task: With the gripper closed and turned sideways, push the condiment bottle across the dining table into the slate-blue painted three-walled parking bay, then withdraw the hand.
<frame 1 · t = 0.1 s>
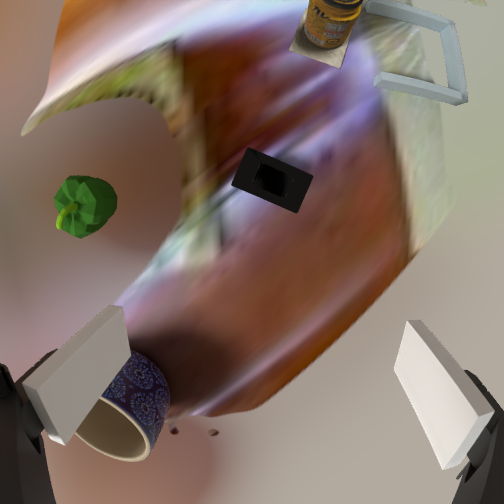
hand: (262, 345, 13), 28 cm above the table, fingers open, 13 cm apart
bell pepper: (102, 200, 40), on the table
planter: (136, 374, 48), on the table
black angular block: (272, 180, 39), on the table
condiment: (322, 37, 32), on the table
bay: (407, 51, 31), on the table
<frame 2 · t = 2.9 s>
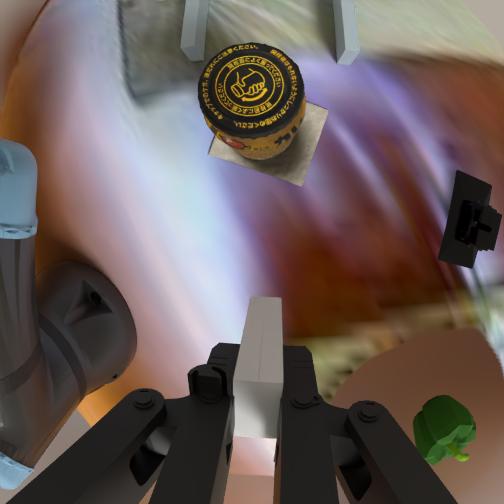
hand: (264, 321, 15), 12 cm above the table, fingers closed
bell pepper: (431, 408, 31), on the table
black angular block: (463, 220, 25), on the table
condiment: (269, 131, 24), on the table
bay: (270, 8, 21), on the table
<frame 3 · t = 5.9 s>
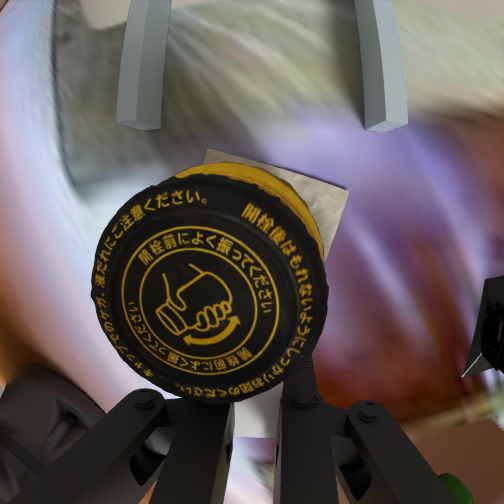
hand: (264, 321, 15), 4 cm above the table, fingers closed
bell pepper: (432, 482, 24), on the table
black angular block: (491, 324, 19), on the table
condiment: (260, 227, 17), on the table, touching gripper
bay: (262, 34, 14), on the table
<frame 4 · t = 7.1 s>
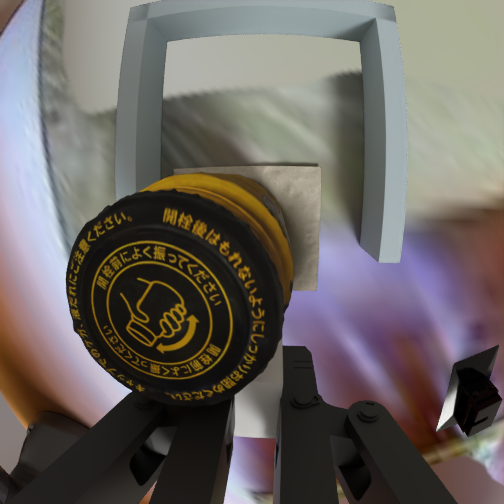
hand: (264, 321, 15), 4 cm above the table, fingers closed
black angular block: (464, 389, 20), on the table
condiment: (246, 228, 18), on the table, touching gripper
bay: (261, 139, 16), on the table
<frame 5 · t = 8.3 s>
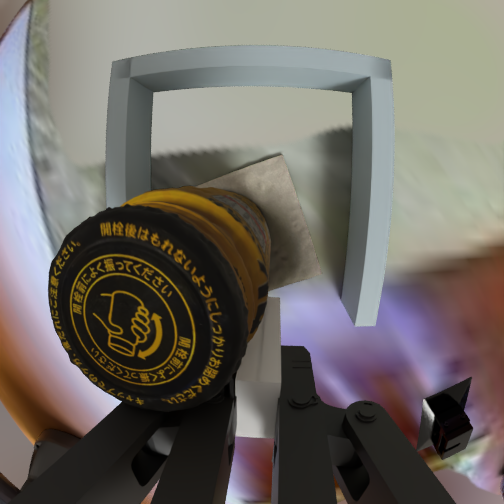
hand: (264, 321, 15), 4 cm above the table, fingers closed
black angular block: (440, 414, 22), on the table
condiment: (234, 237, 18), on the table, touching bay, gripper, hand
bay: (248, 202, 17), on the table
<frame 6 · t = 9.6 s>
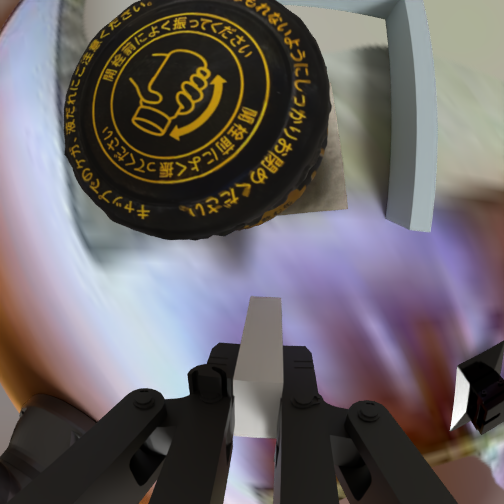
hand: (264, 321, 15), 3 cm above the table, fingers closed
black angular block: (475, 385, 19), on the table
condiment: (264, 150, 16), on the table
bay: (288, 103, 15), on the table
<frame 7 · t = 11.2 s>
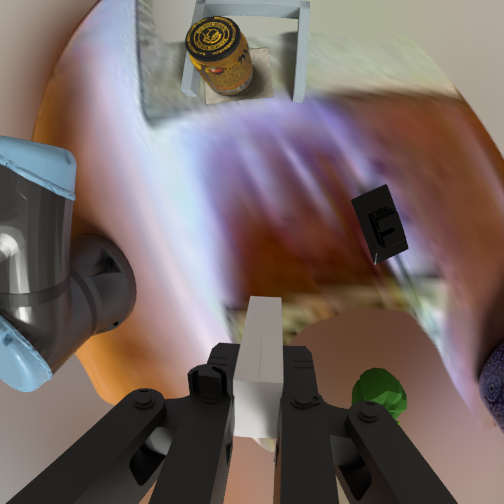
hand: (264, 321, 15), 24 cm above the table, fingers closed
bell pepper: (370, 380, 43), on the table
planter: (499, 361, 40), on the table
black angular block: (379, 223, 37), on the table
condiment: (237, 75, 33), on the table
bay: (248, 57, 32), on the table
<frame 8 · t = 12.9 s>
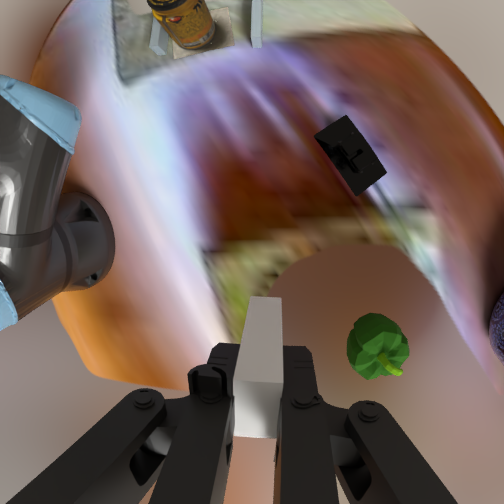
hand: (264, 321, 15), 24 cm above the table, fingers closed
bell pepper: (366, 329, 41), on the table
black angular block: (350, 154, 36), on the table
condiment: (201, 32, 32), on the table
bay: (211, 16, 31), on the table
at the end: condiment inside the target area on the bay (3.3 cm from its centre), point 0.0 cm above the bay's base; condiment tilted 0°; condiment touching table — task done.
